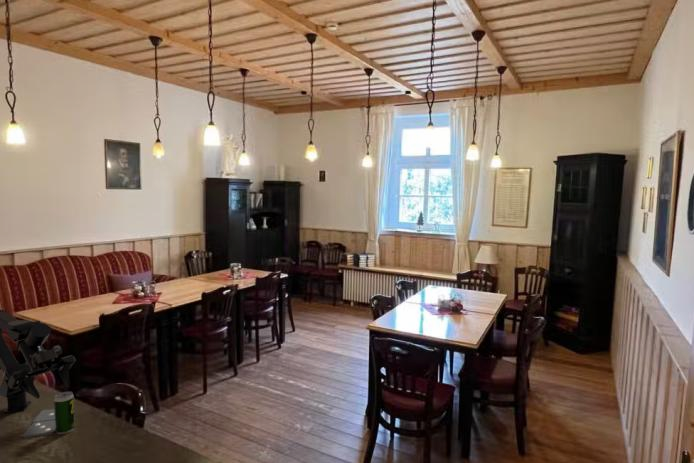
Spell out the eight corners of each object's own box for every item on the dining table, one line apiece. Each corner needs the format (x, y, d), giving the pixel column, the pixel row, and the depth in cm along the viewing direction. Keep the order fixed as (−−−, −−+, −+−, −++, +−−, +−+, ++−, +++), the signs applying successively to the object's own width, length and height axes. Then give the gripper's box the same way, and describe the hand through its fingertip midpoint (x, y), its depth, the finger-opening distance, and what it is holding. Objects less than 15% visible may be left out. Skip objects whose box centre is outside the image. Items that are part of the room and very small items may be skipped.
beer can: (55, 436, 136) (53, 400, 135) (55, 428, 140) (53, 393, 139) (75, 431, 139) (73, 396, 138) (75, 424, 143) (73, 389, 142)
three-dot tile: (33, 424, 143) (33, 422, 143) (60, 421, 145) (60, 419, 145) (22, 437, 135) (22, 435, 135) (51, 434, 137) (51, 431, 137)
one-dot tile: (42, 412, 151) (42, 410, 151) (68, 409, 153) (68, 407, 153) (32, 424, 143) (32, 421, 143) (59, 420, 145) (59, 418, 145)
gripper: (9, 349, 134) (30, 390, 130) (71, 332, 150) (91, 368, 146) (-1, 368, 138) (18, 409, 134) (60, 350, 155) (79, 385, 150)
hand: (54, 391), depth 141 cm, fingers open, 9 cm apart
